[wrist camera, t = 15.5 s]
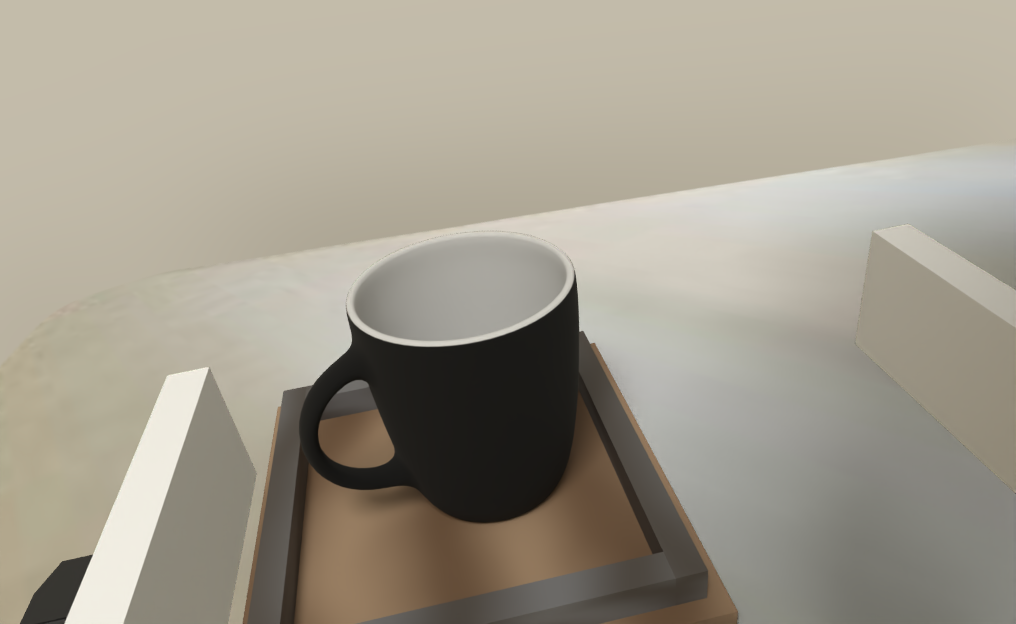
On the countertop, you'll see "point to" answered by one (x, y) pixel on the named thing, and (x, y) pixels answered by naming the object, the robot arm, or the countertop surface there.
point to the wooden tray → (479, 533)
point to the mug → (462, 372)
